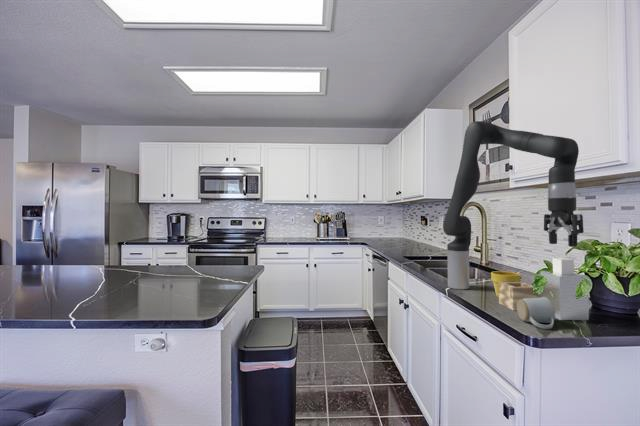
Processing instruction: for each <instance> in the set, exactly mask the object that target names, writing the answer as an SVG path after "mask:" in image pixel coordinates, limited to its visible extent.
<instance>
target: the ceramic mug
mask: <svg viewBox="0 0 640 426" xmlns="http://www.w3.org/2000/svg"><path fill="white" fill-rule="evenodd" d="M516 311H517V315H518V316H519V318H520V319H521V321H523V322H526V323H531V324H532V325H533V326H535V327H537V328H539V329H543V330H550V329H552V328H553V327H554V323H555V319H556V318H555V311H554V307H553V305H552V303H551V302H550V300H549V299H547V298H545V297H543V298H541V297H539V298H525V299H520V300H519V301H518V303H517V310H516Z"/></svg>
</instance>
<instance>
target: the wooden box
mask: <svg viewBox="0 0 640 426" xmlns="http://www.w3.org/2000/svg"><path fill="white" fill-rule="evenodd" d="M533 286H534V285H532V284H530V283H526V282H524V281H520V282H499V297H498V303H499V304H500V305H502V306H504V307H505V308H508V309H509V310H512V311H517V303H518V301H519V300H520V299H525V298H540V296H539V295H540V294H538V293H533V292H534V291H533Z"/></svg>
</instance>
